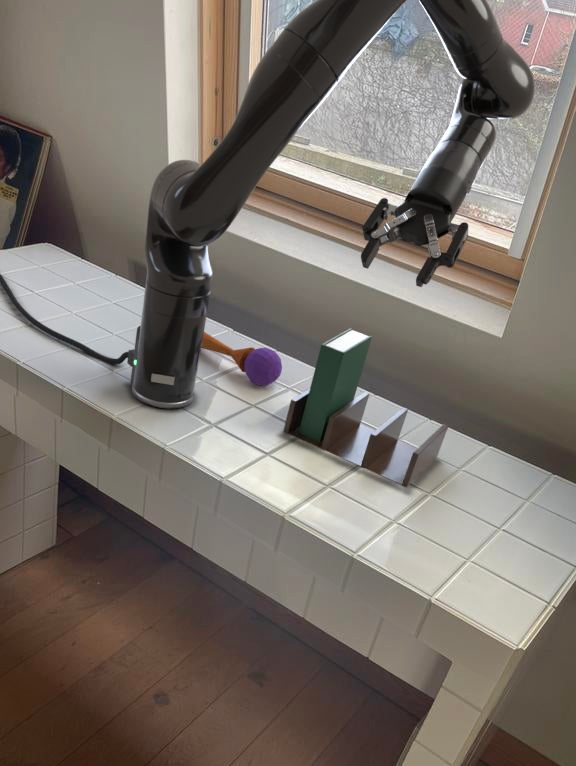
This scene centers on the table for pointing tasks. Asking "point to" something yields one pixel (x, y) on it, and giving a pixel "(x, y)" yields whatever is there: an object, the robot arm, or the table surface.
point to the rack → (369, 440)
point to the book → (334, 380)
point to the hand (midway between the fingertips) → (391, 274)
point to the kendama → (249, 360)
